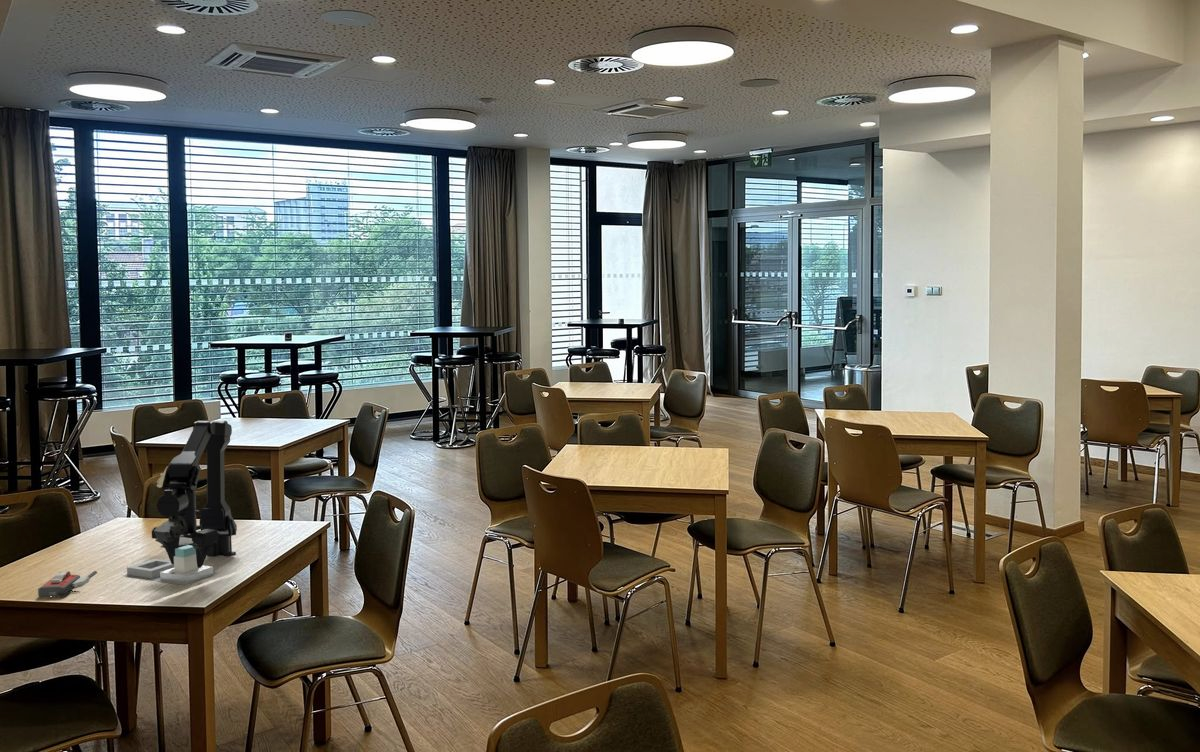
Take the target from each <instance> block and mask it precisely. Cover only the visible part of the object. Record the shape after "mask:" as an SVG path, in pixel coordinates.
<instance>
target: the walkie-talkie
mask: <svg viewBox="0 0 1200 752" xmlns="http://www.w3.org/2000/svg"><path fill="white" fill-rule="evenodd" d="M97 573H98V571H97V570H93V571H92V572H91V573H90V574H88V575H87V576H81V575H80V574H71V572H70V571H69V570H67V571H59V572H58V573H57V574H55V575H54V577H52V578H51V579H49V580H48V581H47V582H45V583H44V584H42V585H41V586H40V587H38V588H37V592H38V593H37V595H38V596H39V597H48V598H64V597H66V596H67V595H69V594H70V593H72V592H73V591H72V590H74V592H75V591H76V589H77V587H78V588H79V587H81V586H85V585H86V583H88V582H89V581H90V579H91V578H93V577H94V576H95V575H96V574H97ZM68 593H69V594H68ZM50 596H52V597H50ZM54 596H55V597H54ZM59 596H60V597H59ZM39 597H38V598H39Z"/></svg>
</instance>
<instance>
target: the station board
mask: <svg viewBox="0 0 1200 752" xmlns="http://www.w3.org/2000/svg"><path fill="white" fill-rule="evenodd" d="M216 574H217V575H218V572H214V571H213V574H212V575H209V576H206V577H203V578H200V579H197V580H194V581H192V582H189V583H179V582H173V581H166V580H160V576H158V577H155V578H146V577H139V576H133V575H127V573H126V574H122V577H128V578H133V579H139V580H141V579H142V580H146V581H147V580H148V581H153V582H154V581H155V582H161V583H165V584H166V583H167V584H173V585H179V586H186V585H189V584H191V583H194V582H197V581H200V580H202V579H205V578H207V577H210V576H213V575H216Z"/></svg>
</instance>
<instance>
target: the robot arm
mask: <svg viewBox="0 0 1200 752" xmlns="http://www.w3.org/2000/svg"><path fill="white" fill-rule="evenodd" d="M232 433H233V428H232V425H231V424H229V422H228V421H227V420H197V421H194V422H193V426H192V431H191V433H190V434H189V437H188V440H187V441H186V443H185V446H184V447H183V449H182V451H181V453H180V454H178V455H176V456H175V457H173V458H172V460H171V461H170V463H169V464H168V467H167V466H166V467H167V469H166V468H165V469H166V473H165V477H164V481H163V485H162V487H161V490H162V491H163V490H164V492H163V494H164V495H162V496H160V498H159V499H158V500H157V503H156V508H157V511H158V513H159V514H160V515H161V516H164V517H167V518H168V519H167V521H165V522H163V523H162V524H160V525H157V526H154V527H153V529H152V530H151V539H155V542H158V543H159V544H161V545H162V546H163V548H164V550H165V551H166V554H167V556H168V558H169V559H168V560H169V561H171V564H174V556H175V549H176V548H180V546H179V539H180V537H185V538H192V541H193V543H192V544H191V545H192V546H193V547H194V548H195V549H196V560H197V567H198V568H200V567H202V565H204V563H205V561H206V558H207V557H213V558H214V557H218V556H221V557H231V556H233V555H237V552H236V551H232V550H233V549H232V536H236V535H237V531H238V529H237V528H238V526H237V524H236V522H235V519H234V518H233V515H232V511H231V509H232V508H231V507H230V506H229V504H228V503H227V501H226V500H225V499H226V498H225V497H226V496H225V495H226V494H225V491H226V490H225V487H226V485H225V483H226V482H225V450H226V449H227V447H228V446H229V444H230V442H231V436H232ZM204 451H206V499H207V500H206V503H205V505H204V506H203V508H201V510H198V509H197V501H196V500H197V499H196V488H198V482H199V479H200V476H201V467H200V465H199V464H200V463H199V462H200V460H201V457H202V455H203V453H204ZM170 481H171V482H170ZM198 515H200V517H199V523H198V524H199V525H198V524H197V516H198ZM197 531H198V532H197ZM188 534H190V535H188Z"/></svg>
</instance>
